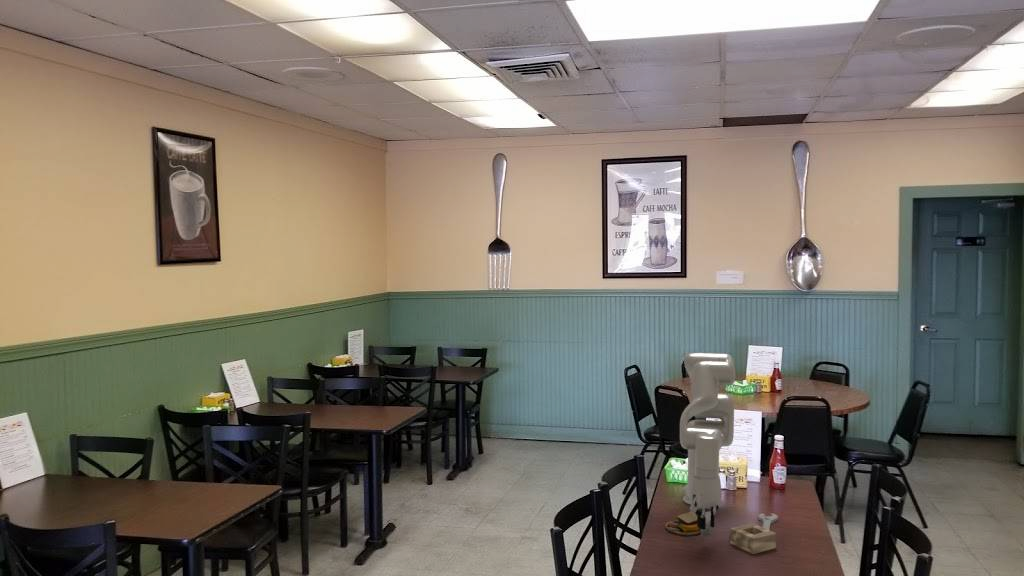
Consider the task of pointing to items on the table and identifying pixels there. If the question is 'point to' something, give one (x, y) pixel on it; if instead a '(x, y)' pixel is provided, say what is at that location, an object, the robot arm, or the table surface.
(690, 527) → the toy sandwich meal
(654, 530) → the table surface
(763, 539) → the block
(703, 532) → the metal peg
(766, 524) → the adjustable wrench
